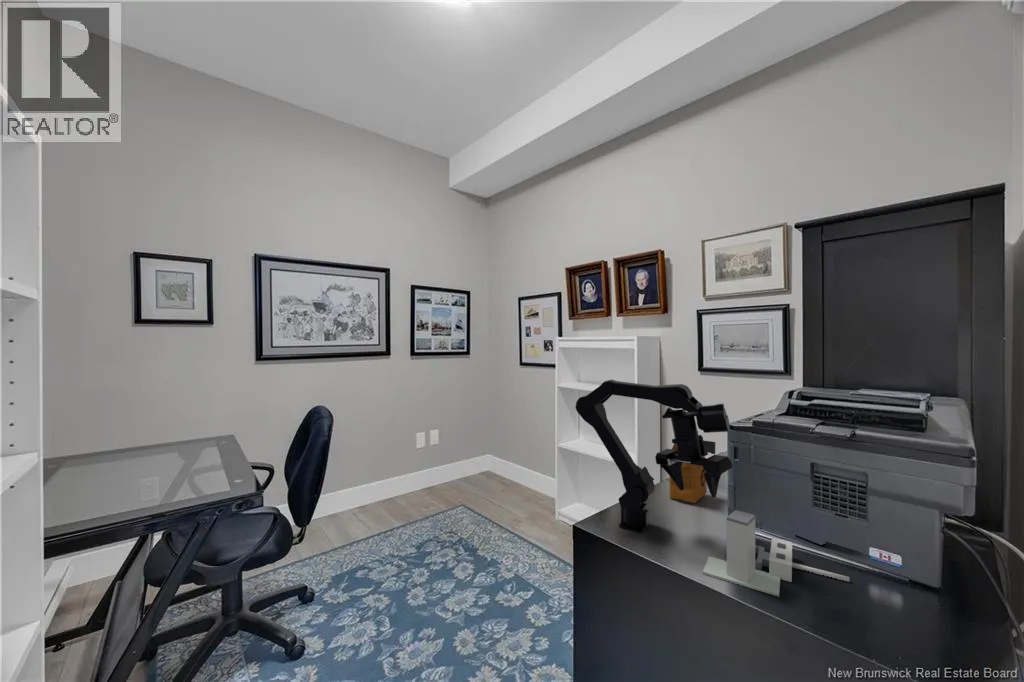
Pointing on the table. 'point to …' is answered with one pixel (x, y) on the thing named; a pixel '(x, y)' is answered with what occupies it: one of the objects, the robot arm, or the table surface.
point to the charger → (741, 545)
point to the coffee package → (689, 483)
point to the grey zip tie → (785, 561)
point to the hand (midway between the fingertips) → (697, 493)
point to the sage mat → (757, 581)
